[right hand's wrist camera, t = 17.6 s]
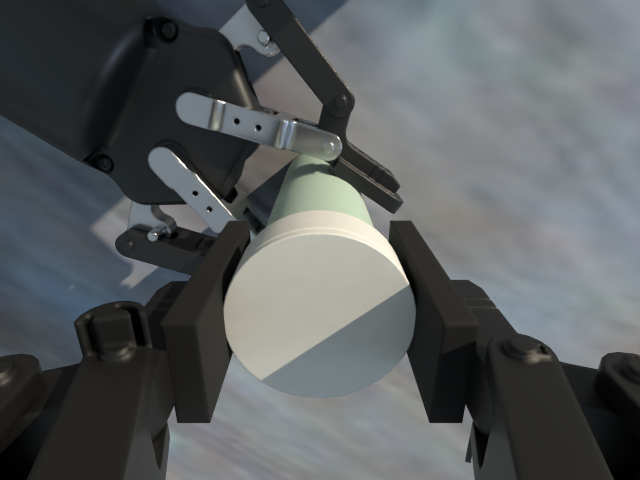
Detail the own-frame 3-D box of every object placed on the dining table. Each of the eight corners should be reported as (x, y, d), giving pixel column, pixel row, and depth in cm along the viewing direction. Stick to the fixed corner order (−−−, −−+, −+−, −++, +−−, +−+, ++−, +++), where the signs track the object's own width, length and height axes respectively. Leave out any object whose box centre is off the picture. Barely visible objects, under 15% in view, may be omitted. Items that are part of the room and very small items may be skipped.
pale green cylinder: (336, 225, 26) (356, 389, 12) (275, 200, 26) (220, 341, 11) (365, 165, 25) (426, 271, 11) (301, 136, 24) (274, 209, 10)
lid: (202, 282, 12) (181, 316, 10) (327, 172, 11) (328, 189, 9) (313, 380, 13) (312, 426, 12) (435, 294, 12) (455, 330, 10)
